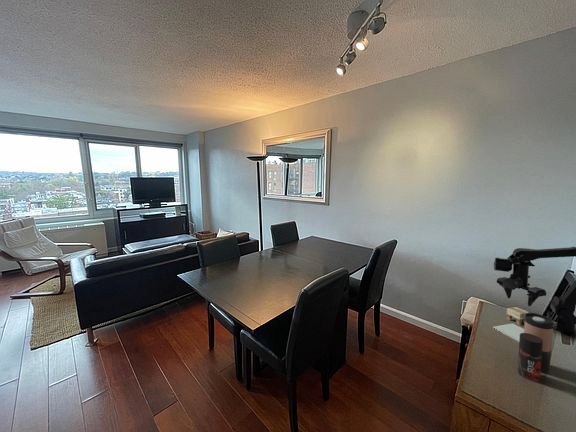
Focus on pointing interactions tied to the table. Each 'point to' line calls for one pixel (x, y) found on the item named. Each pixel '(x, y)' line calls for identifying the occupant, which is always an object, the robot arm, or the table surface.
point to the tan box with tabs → (516, 314)
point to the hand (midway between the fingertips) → (518, 302)
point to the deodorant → (530, 356)
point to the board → (510, 330)
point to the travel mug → (541, 335)
